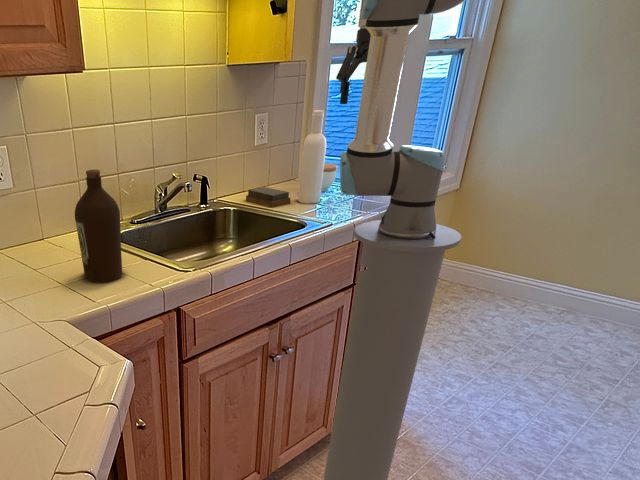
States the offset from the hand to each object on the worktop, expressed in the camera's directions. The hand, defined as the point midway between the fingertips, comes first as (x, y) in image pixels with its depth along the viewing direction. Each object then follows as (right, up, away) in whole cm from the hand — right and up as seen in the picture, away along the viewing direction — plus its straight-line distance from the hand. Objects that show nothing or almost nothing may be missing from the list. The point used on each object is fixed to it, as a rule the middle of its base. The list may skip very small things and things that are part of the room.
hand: (359, 102), depth 170 cm
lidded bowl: (-4, -19, +30) cm, 36 cm away
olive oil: (-82, -67, -45) cm, 115 cm away
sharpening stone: (-28, -29, +16) cm, 43 cm away
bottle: (-13, -29, +15) cm, 35 cm away
